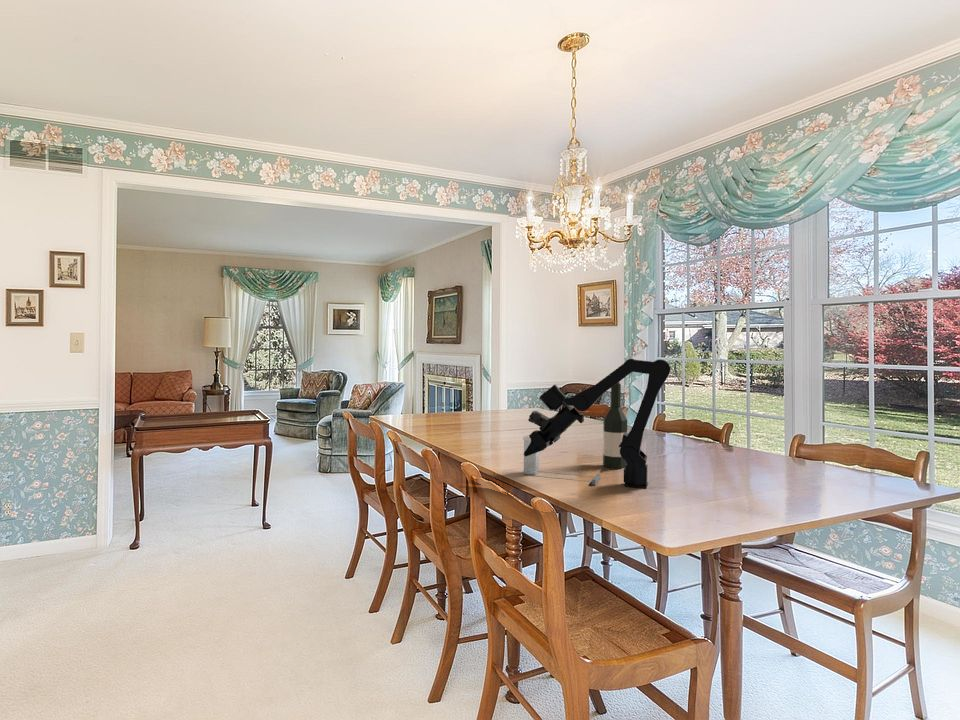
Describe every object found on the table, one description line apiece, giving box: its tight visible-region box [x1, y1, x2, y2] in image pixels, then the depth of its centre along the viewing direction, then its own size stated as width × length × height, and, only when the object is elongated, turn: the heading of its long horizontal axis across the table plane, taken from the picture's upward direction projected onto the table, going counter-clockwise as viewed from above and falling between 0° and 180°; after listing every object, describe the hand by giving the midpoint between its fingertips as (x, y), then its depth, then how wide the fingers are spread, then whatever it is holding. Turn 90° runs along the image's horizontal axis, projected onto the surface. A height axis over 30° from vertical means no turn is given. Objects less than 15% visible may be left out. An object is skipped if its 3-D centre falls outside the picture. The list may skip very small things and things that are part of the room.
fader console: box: [526, 470, 601, 486], centre depth 177 cm, size 23×9×2 cm, turn 68°
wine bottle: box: [602, 381, 628, 470], centre depth 195 cm, size 8×8×30 cm
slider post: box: [522, 434, 540, 476], centre depth 181 cm, size 4×4×12 cm
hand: (527, 453), depth 181 cm, fingers open, 6 cm apart
